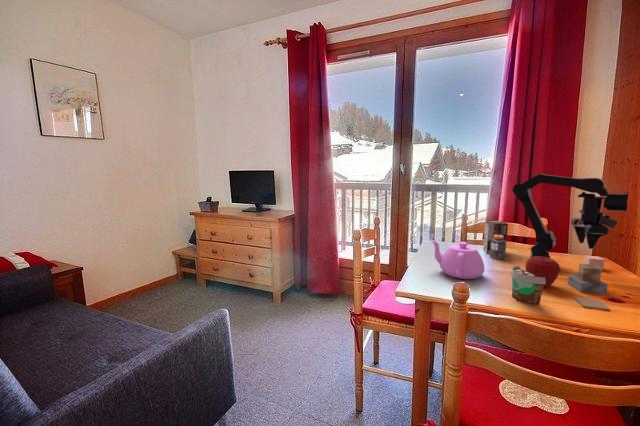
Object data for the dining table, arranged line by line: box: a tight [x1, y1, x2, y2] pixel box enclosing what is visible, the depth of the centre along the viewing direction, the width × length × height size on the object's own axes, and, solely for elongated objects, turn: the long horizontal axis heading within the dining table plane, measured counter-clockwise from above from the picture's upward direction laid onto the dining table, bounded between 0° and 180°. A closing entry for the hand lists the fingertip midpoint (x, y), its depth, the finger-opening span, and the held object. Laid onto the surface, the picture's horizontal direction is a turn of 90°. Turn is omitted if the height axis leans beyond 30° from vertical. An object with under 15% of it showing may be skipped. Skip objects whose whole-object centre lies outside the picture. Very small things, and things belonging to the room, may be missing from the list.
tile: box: [573, 296, 611, 311], centre depth 101 cm, size 7×7×1 cm
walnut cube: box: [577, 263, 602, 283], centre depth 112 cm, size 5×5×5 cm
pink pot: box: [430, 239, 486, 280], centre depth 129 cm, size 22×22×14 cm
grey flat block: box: [567, 274, 609, 295], centre depth 113 cm, size 8×8×4 cm
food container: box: [509, 265, 546, 306], centre depth 104 cm, size 12×6×10 cm, turn 5°
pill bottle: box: [489, 235, 505, 260], centre depth 149 cm, size 6×6×11 cm
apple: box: [525, 256, 561, 288], centre depth 116 cm, size 11×11×12 cm
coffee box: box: [482, 220, 509, 255], centre depth 158 cm, size 9×6×16 cm
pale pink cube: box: [583, 255, 605, 272], centre depth 134 cm, size 5×5×5 cm
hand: (585, 245), depth 127 cm, fingers open, 9 cm apart
